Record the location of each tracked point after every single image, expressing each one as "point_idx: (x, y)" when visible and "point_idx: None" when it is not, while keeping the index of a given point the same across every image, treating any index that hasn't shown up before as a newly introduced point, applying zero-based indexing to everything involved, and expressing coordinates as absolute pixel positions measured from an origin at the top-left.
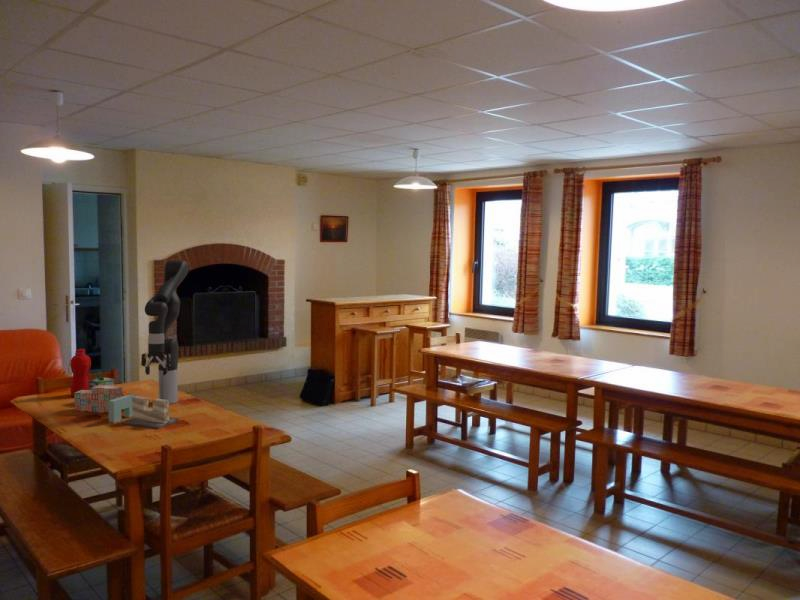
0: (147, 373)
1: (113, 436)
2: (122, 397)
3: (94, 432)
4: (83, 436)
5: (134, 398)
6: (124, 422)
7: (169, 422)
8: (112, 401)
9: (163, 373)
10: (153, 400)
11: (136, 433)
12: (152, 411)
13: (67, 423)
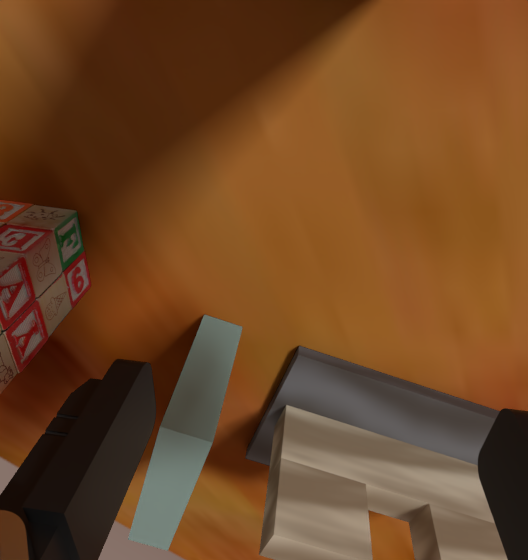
0: (144, 442)
1: None
2: (161, 495)
3: (198, 515)
4: (188, 539)
5: (278, 556)
6: (260, 460)
7: None
8: (159, 546)
9: (496, 501)
10: None
11: None
12: (407, 520)
13: (9, 430)
